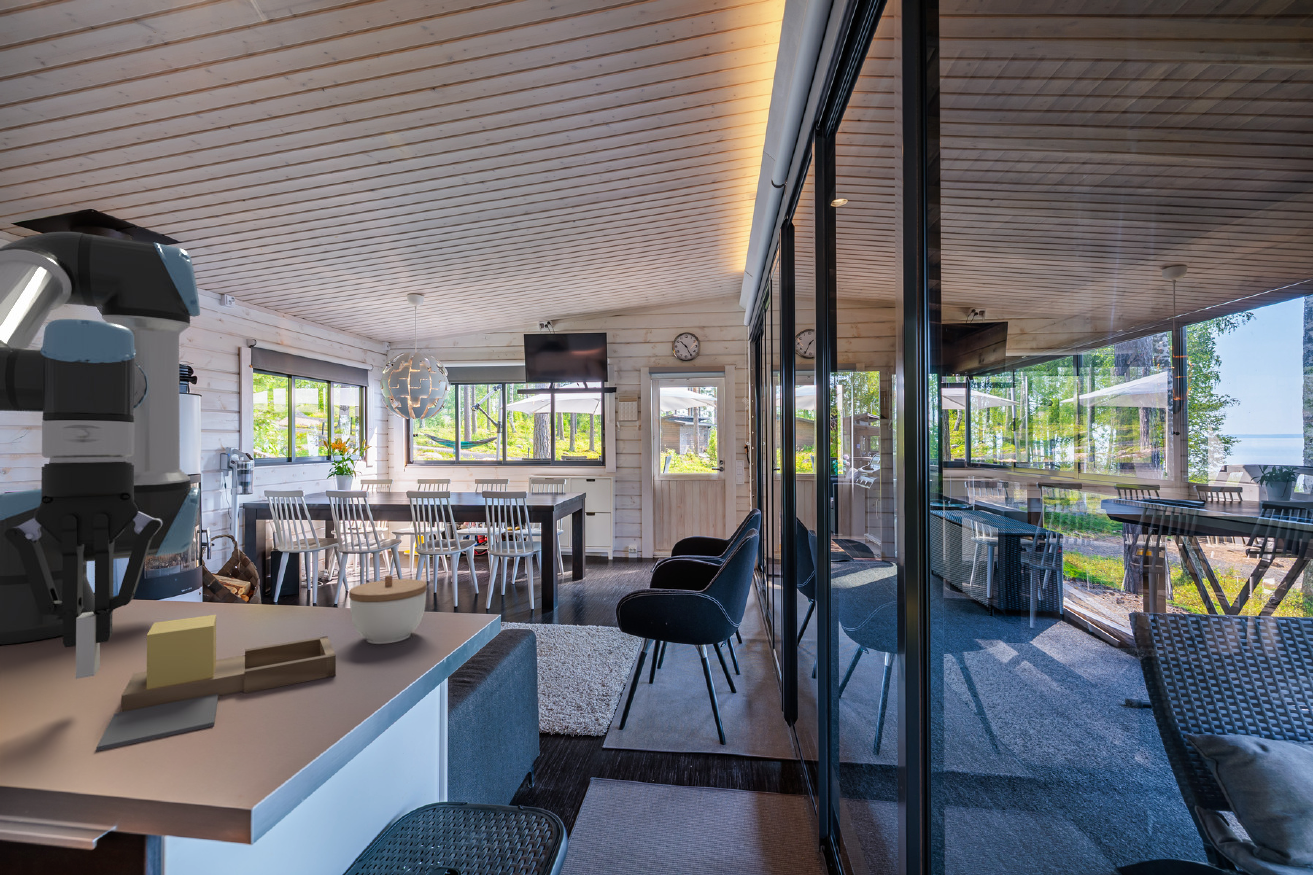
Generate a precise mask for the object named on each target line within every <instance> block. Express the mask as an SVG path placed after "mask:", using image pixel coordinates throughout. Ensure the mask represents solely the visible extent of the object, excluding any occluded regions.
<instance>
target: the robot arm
mask: <svg viewBox="0 0 1313 875" xmlns="http://www.w3.org/2000/svg"><path fill="white" fill-rule="evenodd" d="M195 275H196V274H195V271H194V265H193V261H192V257H191V255H190V254H189V253H188V252H187V250H184V249H182V248H180V247H177V246H172V245H167V244H161V243H158V242H149V241H144V240H143V241H141V240H133V239H126V238H125V239H124V238H118V237H111V236H104V235H96V234H88V233H84V232H76V231H56V232H55V231H52V232H45V233H40V234H35V235H30V236H27V237H24V238H21V239H17V240H14V241H12V242H10V243H7V244H5V245H3V246H1V247H0V412H7V411H8V412H30V413H31V412H32V413H34V412H35V413H39V412H40V413H42V418H41V419H42V421H41V422H42V423H41V456H42V457H44V458H45V459H46V458H47V459H49V461H48V463H44V465H43V466H41V485H40V486H41V487H40V488H36V489H29V490H28V489H27V490H23V491H22V490H21V491H13V492H6V493H0V644H1V645H10V644H19V643H26V642H33V641H38V640H45V639H50V638H56V637H60V636H62V644H63V645H64V648H66V649H67V648H72V647H75V679H76V680H77V679H83V678H84V679H85V678H90V677H95V676H96V674H97V673H98V672H99V670H100V669H101V668H100V665H101V664H100V663H101V659H100V657H101V656H100V655H101V653H100V652H101V649H100V648H101V647H100V645H101V643H107V642H109V640H110V639H111V637H112V635H113V612H114V610H116V609H118V608H121V607H125V606H127V605H129V604H130V603H131V601H132V600H134V597H135V593H136V591H137V588H138V585H139V582H140V578H141V575H142V572H143V568H144V567H145V566H144V565H145V562H146V560H147V557H155V558H158V557H160V556H166V555H173V554H181V553H184V552H186V551H187V550H188V549H190V547H191V546H192V543H193V539H194V534H195V530H196V526H197V525H196V523H197V519H198V512H199V506H200V498H201V489H200V488H199V487H196V486H192V487H191V477H190V476H189V475H187V473H185V472H183V471H182V469H181V462H180V461H181V460H180V459H181V458H180V457H181V456H180V454H181V450H180V449H181V448H180V441H181V440H180V433H181V432H180V430H181V429H180V335H181V333H183V332H184V331H185V330H187V329H188V328H190V326H191V317H193V318H195V317H199V316H200V315H201V309H200V308H201V307H200V299H199V292H198V286H197V281H196V276H195ZM63 305H77V306H87V307H96V308H101V317H102V319H103V320H104V321H99V320H93V319H92V320H91V319H79V318H78V319H77V318H65V319H64V318H63V319H54V320H51V321H49V322H47V323H46V325H45V326H44V328H43V329H44V330H43V341H42V346H41V348H29V347H30V346H31V345H32V342H33V341H34V339H35V337H36V336H37V334H38V332H39V331H40V329H41V328H42V326H43V324H44V323H45V321H46V319H47V318H48V316H49V314H50V313H51V311H53V310H56V309H57V310H58V309H59V308H61V307H62V306H63ZM119 559H120V560H121V559H128V562H127V566H126V569H125V572H124V575H123V579H122V581H121V585H120V588H119V591H118V594H117V595H114V561H115V560H119ZM88 562H94V590H93V589H92V586H91V584H90V582H89V580H88V571H87V570H88V568H87V566H88Z"/></svg>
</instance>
